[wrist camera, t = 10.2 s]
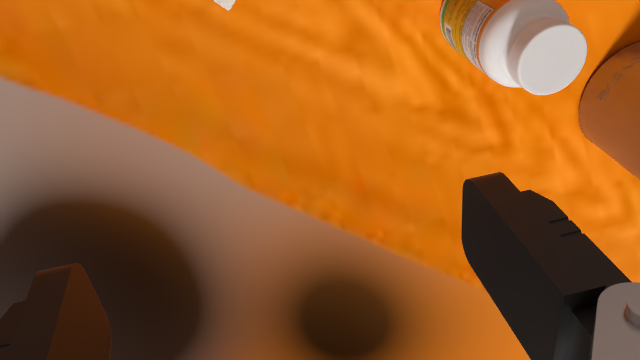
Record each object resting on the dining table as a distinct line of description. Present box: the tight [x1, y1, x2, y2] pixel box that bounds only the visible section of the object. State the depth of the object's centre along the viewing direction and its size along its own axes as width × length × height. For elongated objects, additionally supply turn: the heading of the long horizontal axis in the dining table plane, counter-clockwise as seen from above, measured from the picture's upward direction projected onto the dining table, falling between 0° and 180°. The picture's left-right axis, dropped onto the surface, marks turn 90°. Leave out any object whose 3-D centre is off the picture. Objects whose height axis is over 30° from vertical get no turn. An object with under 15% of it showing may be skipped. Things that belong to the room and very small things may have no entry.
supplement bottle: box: [440, 0, 587, 95], centre depth 33 cm, size 5×5×10 cm
